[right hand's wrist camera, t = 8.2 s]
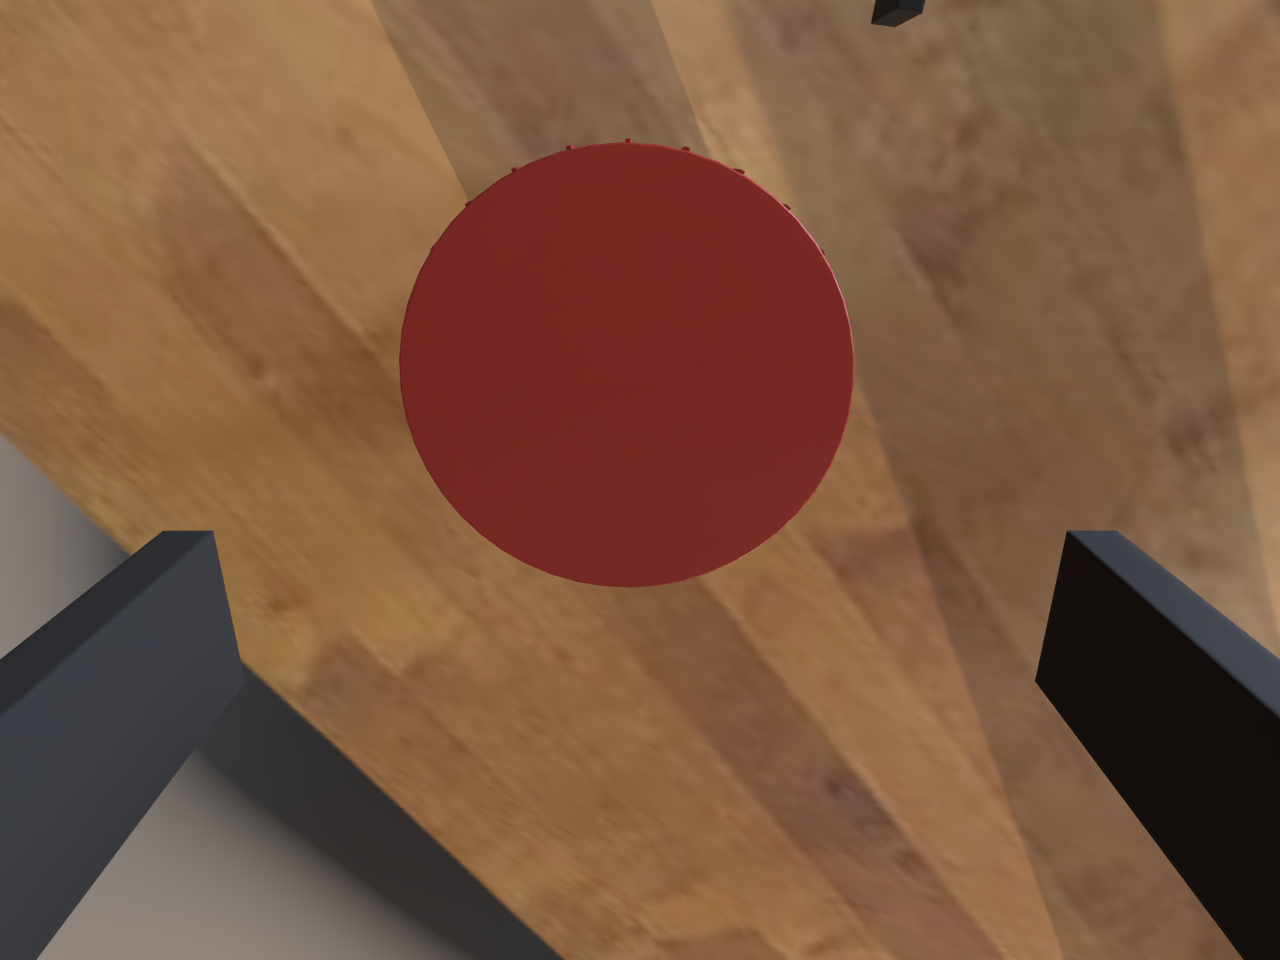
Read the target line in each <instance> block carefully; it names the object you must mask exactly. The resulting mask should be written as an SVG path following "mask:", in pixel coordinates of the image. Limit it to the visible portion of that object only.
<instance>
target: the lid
mask: <svg viewBox="0 0 1280 960" xmlns="http://www.w3.org/2000/svg"><path fill="white" fill-rule="evenodd" d="M566 149H567V150H566V151H562V152H558V153H555V154H552V155H550V156H547V157H545V158H542V159H539V160H537V161H534V162H531V163H529V164H527V165H525V166H522V167H514V168H512V169H511V170H512V173H510V174H509V175H507V176H505V177H503V178H501V179H500V180H498V181H497V182H496V183H494V184H493V185H492V186H490V187H489V188H488V189H486V190H485V191H484V192H482V193H481V194H480V195H479V196H477V197H476V198H475V199H473V200H472V201H469V202H467V203H466V204H465V206H466V208H465V209H464V210H463V211H462V212H461V213H460V214H459V215H458V216H457V217H456V218H455V219H454V220H453V221H452V222H451V223H450V225H449V226H448V227H447V229H446V230H445V231H444V233H443V234H442V235H441V237H440V238H439V239H438V241H437V242H436V243H435V245H434V246H432V248H431V252H430V253H429V255H428V257H427V259H426V261H425V263H424V265H423V266H422V268H421V270H420V272H419V274H418V277H417V279H416V282H415V285H414V287H413V290H412V293H411V295H410V298H409V301H408V305H407V309H406V314H405V318H404V323H403V327H402V333H401V345H400V358H399V364H400V383H401V393H402V398H403V403H404V409H405V414H406V419H407V422H408V425H409V428H410V431H411V434H412V437H413V440H414V443H415V446H416V448H417V450H418V452H419V454H420V456H421V458H422V460H423V462H424V464H425V467H426V469H427V471H428V472H429V474H430V475H431V477H432V478H433V480H434V482H435V483H436V485H437V486H438V488H439V489H440V491H441V492H442V494H443V495H444V496H445V498H446V499H447V500H448V501H449V502H450V504H451V505H452V506H453V507H454V508H455V510H456V511H457V512H458V513H459V514H460V515H461V516H462V517H463V518H464V519H465V520H466V521H467V522H468V523H469V524H470V525H471V526H472V527H473V528H474V529H475V530H477V531H478V532H479V533H480V534H481V535H482V536H484V537H485V538H486V539H488V540H489V541H490V542H492V543H493V544H495V545H496V546H497V547H499V548H500V549H501V550H503V551H505V552H506V553H508V554H510V555H512V556H513V557H515V558H517V559H519V560H520V561H522V562H524V563H526V564H528V565H530V566H533V567H535V568H538V569H540V570H542V571H545V572H547V573H549V574H552V575H556V576H559V577H563V578H566V579H570V580H573V581H576V582H582V583H588V584H594V585H600V586H612V587H645V586H658V585H664V584H669V583H675V582H680V581H685V580H688V579H691V578H694V577H698V576H701V575H704V574H708V573H710V572H713V571H715V570H717V569H719V568H722V567H724V566H726V565H728V564H731V563H733V562H735V561H737V560H738V559H740V558H742V557H743V556H745V555H747V554H748V553H750V552H752V551H754V550H755V549H757V548H758V547H760V546H761V545H762V544H763V543H765V542H766V541H767V540H769V539H770V538H771V537H773V536H774V535H775V534H777V533H778V532H779V531H780V530H781V529H782V528H783V527H784V526H785V525H786V524H787V523H788V522H789V521H790V520H791V519H792V518H793V517H794V516H795V515H796V514H797V513H798V512H799V511H800V510H801V509H802V507H803V506H804V505H805V503H806V502H807V501H808V500H809V498H810V497H811V496H812V495H813V493H814V492H815V491H816V489H817V488H818V486H819V484H820V483H821V481H822V479H823V478H824V476H825V474H826V473H827V471H828V469H829V468H830V466H831V464H832V461H833V459H834V457H835V454H836V452H837V450H838V448H839V445H840V443H841V441H842V437H843V434H844V430H845V427H846V424H847V420H848V417H849V413H850V407H851V400H852V394H853V387H854V349H853V340H852V332H851V325H850V321H849V317H848V313H847V310H846V303H845V302H844V298H843V295H842V293H841V290H840V288H839V286H838V283H837V281H836V278H835V276H834V273H833V271H832V269H831V267H830V265H829V264H828V262H827V260H826V259H825V257H824V255H825V253H824V251H823V250H821V249H820V248H819V247H818V245H817V243H816V242H815V240H814V239H813V238H812V237H811V235H810V234H809V233H808V232H807V230H806V229H805V228H804V226H803V225H802V224H801V223H800V221H799V220H798V219H797V218H796V217H795V216H794V215H793V214H792V213H791V212H790V211H789V210H790V209H791V208H790V207H789V206H788V205H786V204H783V203H781V202H780V201H779V200H777V199H776V198H775V197H774V196H773V195H772V194H770V193H769V192H768V191H766V190H765V189H763V188H762V187H761V186H759V185H758V184H756V183H755V182H754V181H752V180H751V179H750V178H748V177H746V176H745V175H744V173H745V171H743V170H741V169H731V168H729V167H727V166H725V165H724V164H722V163H720V162H717V161H715V160H712V159H709V158H706V157H703V156H701V155H698V154H695V153H692V152H689V151H690V148H689V147H682V150H681V149H676V148H671V147H666V146H661V145H656V144H641V143H632V140H631V139H625V143H624V142H622V143H609V144H597V145H588V146H584V147H579V148H577V147H576V146H572V145H570V146H566Z"/></svg>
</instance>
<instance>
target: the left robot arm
mask: <svg viewBox="0 0 1280 960" xmlns="http://www.w3.org/2000/svg"><path fill="white" fill-rule="evenodd" d="M924 3H925V0H876V2H875V7H874V12H873V17H872V21H871V24H876V25H883V26H890V27H896V26H898V25H900V24H902V23H904V22H906V21H908V20H910V19H911V18H913V17H915V16H917V15H919V14H921V13H922V12H923V8H924Z"/></svg>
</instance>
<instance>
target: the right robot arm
mask: <svg viewBox="0 0 1280 960" xmlns="http://www.w3.org/2000/svg"><path fill="white" fill-rule="evenodd" d="M244 682H245V679H244V675H243V670H242V665H241V660H240V656H239V651H238V646H237V642H236V637H235V632H234V627H233V623H232V618H231V613H230V609H229V604H228V599H227V594H226V590H225V585H224V580H223V576H222V571H221V566H220V561H219V557H218V552H217V547H216V543H215V538H214V533H213V531H162V532H161V533H160V534H158V535H157V536H156V537H155V538H153V539H152V540H151V541H150V542H148V543H147V544H146V545H145V546H143V547H142V548H141V549H139V550H138V551H137V552H136V553H134V554H133V555H132V556H131V557H129V558H128V559H127V560H126V561H124V562H123V563H122V564H120V565H119V566H118V567H117V568H115V569H114V570H113V571H112V572H110V573H109V574H108V575H107V576H105V577H104V578H103V579H101V580H100V581H99V582H98V583H96V584H95V585H94V586H93V587H91V588H90V589H89V590H88V591H86V592H85V593H84V594H83V595H81V596H80V597H79V598H77V599H76V600H75V601H74V602H72V603H71V604H70V605H69V606H67V607H66V608H65V609H64V610H62V611H61V612H60V613H58V614H57V615H56V616H55V617H53V618H52V619H51V620H50V621H48V622H47V623H46V624H45V625H43V626H42V627H41V628H40V629H38V630H37V631H36V632H34V633H33V634H32V635H31V636H29V637H28V638H27V639H26V640H24V641H23V642H22V643H21V644H19V645H18V646H17V647H15V648H14V649H13V650H12V651H10V652H9V653H8V654H7V655H5V656H4V657H3V658H2V659H0V960H36V959H37V958H38V957H39V955H40V954H41V953H42V951H43V950H44V949H45V947H46V946H47V945H48V943H49V942H50V941H51V939H52V938H53V937H54V935H55V934H56V933H57V931H58V930H59V929H60V927H61V926H62V925H63V923H64V922H65V921H66V919H67V918H68V917H69V915H70V914H71V913H72V911H73V910H74V909H75V907H76V906H77V905H78V903H79V902H80V901H81V899H82V898H83V897H84V895H85V894H86V893H87V891H88V890H89V889H90V887H91V886H92V885H93V883H94V882H95V881H96V879H97V878H98V877H99V875H100V874H101V873H102V871H103V870H104V869H105V867H106V866H107V865H108V863H109V862H110V861H111V859H112V858H113V857H114V855H115V854H116V853H117V851H118V850H119V849H120V847H121V846H122V845H123V843H124V842H125V841H126V839H127V838H128V837H129V835H130V834H131V833H132V831H133V830H134V829H135V827H136V826H137V825H138V823H139V822H140V820H141V819H142V818H143V817H144V815H145V814H146V813H147V811H148V810H149V809H150V807H151V806H152V805H153V803H154V802H155V801H156V799H157V798H158V797H159V795H160V794H161V793H162V791H163V790H164V789H165V787H166V786H167V785H168V783H169V782H170V781H171V779H172V778H173V777H174V775H175V774H176V772H177V771H178V770H179V769H180V767H181V766H182V764H183V763H184V762H185V760H186V759H187V758H188V756H189V755H190V754H191V753H192V751H193V750H194V748H195V747H196V746H197V744H198V743H199V742H200V740H201V739H202V738H203V736H204V735H205V734H206V732H207V731H208V730H209V728H210V727H211V726H212V724H213V723H214V722H215V720H216V719H217V718H218V716H219V715H220V714H221V712H222V711H223V710H224V708H225V707H226V706H227V704H228V703H229V702H230V700H231V699H232V698H233V696H234V695H235V694H236V692H237V691H238V690H239V688H240V687H241V686H242V684H243V683H244ZM1035 682H1036V683H1037V684H1038V686H1039V687H1040V688H1041V690H1042V691H1043V692H1044V694H1045V695H1046V696H1047V698H1048V699H1049V700H1050V702H1051V703H1052V704H1053V706H1054V707H1055V708H1056V710H1057V711H1058V712H1059V714H1060V715H1061V716H1062V718H1063V719H1064V720H1065V722H1066V723H1067V724H1068V726H1069V727H1070V728H1071V730H1072V731H1073V732H1074V734H1075V735H1076V736H1077V738H1078V739H1079V740H1080V742H1081V743H1082V744H1083V746H1084V747H1085V749H1086V750H1087V751H1088V753H1089V754H1090V755H1091V757H1092V758H1093V759H1094V761H1095V762H1096V763H1097V765H1098V766H1099V767H1100V769H1101V770H1102V771H1103V773H1104V774H1105V775H1106V777H1107V778H1108V779H1109V781H1110V782H1111V783H1112V785H1113V786H1114V787H1115V789H1116V790H1117V791H1118V793H1119V794H1120V795H1121V797H1122V798H1123V799H1124V801H1125V802H1126V803H1127V805H1128V806H1129V807H1130V809H1131V810H1132V811H1133V813H1134V814H1135V815H1136V817H1137V818H1138V819H1139V821H1140V822H1141V823H1142V825H1143V826H1144V827H1145V829H1146V830H1147V831H1148V833H1149V834H1150V835H1151V837H1152V838H1153V839H1154V841H1155V842H1156V843H1157V845H1158V846H1159V847H1160V849H1161V850H1162V851H1163V853H1164V854H1165V855H1166V857H1167V858H1168V859H1169V861H1170V862H1171V863H1172V865H1173V866H1174V867H1175V869H1176V870H1177V871H1178V873H1179V874H1180V875H1181V877H1182V878H1183V879H1184V881H1185V882H1186V883H1187V885H1188V886H1189V887H1190V889H1191V890H1192V891H1193V893H1194V894H1195V895H1196V897H1197V898H1198V899H1199V901H1200V902H1201V903H1202V905H1203V906H1204V907H1205V909H1206V910H1207V911H1208V913H1209V914H1210V915H1211V917H1212V918H1213V919H1214V921H1215V922H1216V923H1217V925H1218V926H1219V927H1220V929H1221V930H1222V931H1223V933H1224V934H1225V935H1226V937H1227V938H1228V939H1229V941H1230V942H1231V943H1232V945H1233V946H1234V947H1235V949H1236V950H1237V951H1238V953H1239V954H1240V955H1241V957H1242V958H1243V959H1244V960H1280V659H1278V658H1277V657H1276V656H1275V655H1273V654H1272V653H1271V652H1270V651H1268V650H1267V649H1266V648H1265V647H1263V646H1262V645H1261V644H1259V643H1258V642H1257V641H1256V640H1254V639H1253V638H1252V637H1251V636H1249V635H1248V634H1247V633H1246V632H1244V631H1243V630H1242V629H1241V628H1239V627H1238V626H1237V625H1235V624H1234V623H1233V622H1232V621H1230V620H1229V619H1228V618H1227V617H1225V616H1224V615H1223V614H1222V613H1220V612H1219V611H1218V610H1216V609H1215V608H1214V607H1213V606H1211V605H1210V604H1209V603H1208V602H1206V601H1205V600H1204V599H1203V598H1201V597H1200V596H1199V595H1197V594H1196V593H1195V592H1194V591H1192V590H1191V589H1190V588H1189V587H1187V586H1186V585H1185V584H1184V583H1182V582H1181V581H1180V580H1179V579H1177V578H1176V577H1175V576H1173V575H1172V574H1171V573H1170V572H1168V571H1167V570H1166V569H1165V568H1163V567H1162V566H1161V565H1160V564H1158V563H1157V562H1156V561H1154V560H1153V559H1152V558H1151V557H1149V556H1148V555H1147V554H1146V553H1144V552H1143V551H1142V550H1141V549H1139V548H1138V547H1137V546H1135V545H1134V544H1133V543H1132V542H1130V541H1129V540H1128V539H1127V538H1125V537H1124V536H1123V535H1122V534H1120V533H1119V532H1118V531H1067V533H1066V538H1065V543H1064V547H1063V552H1062V557H1061V561H1060V566H1059V571H1058V576H1057V580H1056V585H1055V590H1054V594H1053V599H1052V604H1051V609H1050V613H1049V618H1048V623H1047V627H1046V632H1045V637H1044V642H1043V646H1042V651H1041V656H1040V660H1039V665H1038V670H1037V675H1036V679H1035Z"/></svg>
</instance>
